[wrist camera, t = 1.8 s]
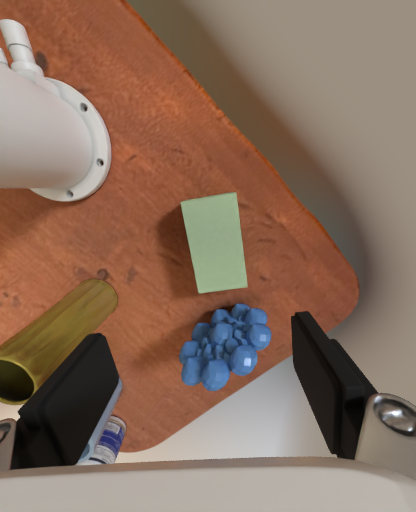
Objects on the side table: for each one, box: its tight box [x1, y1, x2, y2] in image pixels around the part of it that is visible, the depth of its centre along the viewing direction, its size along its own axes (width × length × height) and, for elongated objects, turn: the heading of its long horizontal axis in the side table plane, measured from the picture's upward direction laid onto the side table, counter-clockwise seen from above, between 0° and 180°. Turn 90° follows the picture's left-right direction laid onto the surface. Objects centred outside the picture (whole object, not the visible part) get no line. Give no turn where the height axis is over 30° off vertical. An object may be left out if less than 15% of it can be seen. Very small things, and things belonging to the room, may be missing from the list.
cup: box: [78, 378, 123, 463], centre depth 32 cm, size 8×8×9 cm
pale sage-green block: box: [180, 192, 248, 293], centre depth 26 cm, size 11×6×4 cm, turn 9°
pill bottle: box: [74, 416, 126, 466], centre depth 34 cm, size 6×6×10 cm
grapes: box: [179, 304, 271, 391], centre depth 26 cm, size 12×7×12 cm, turn 113°
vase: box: [0, 279, 118, 405], centre depth 24 cm, size 6×6×14 cm
